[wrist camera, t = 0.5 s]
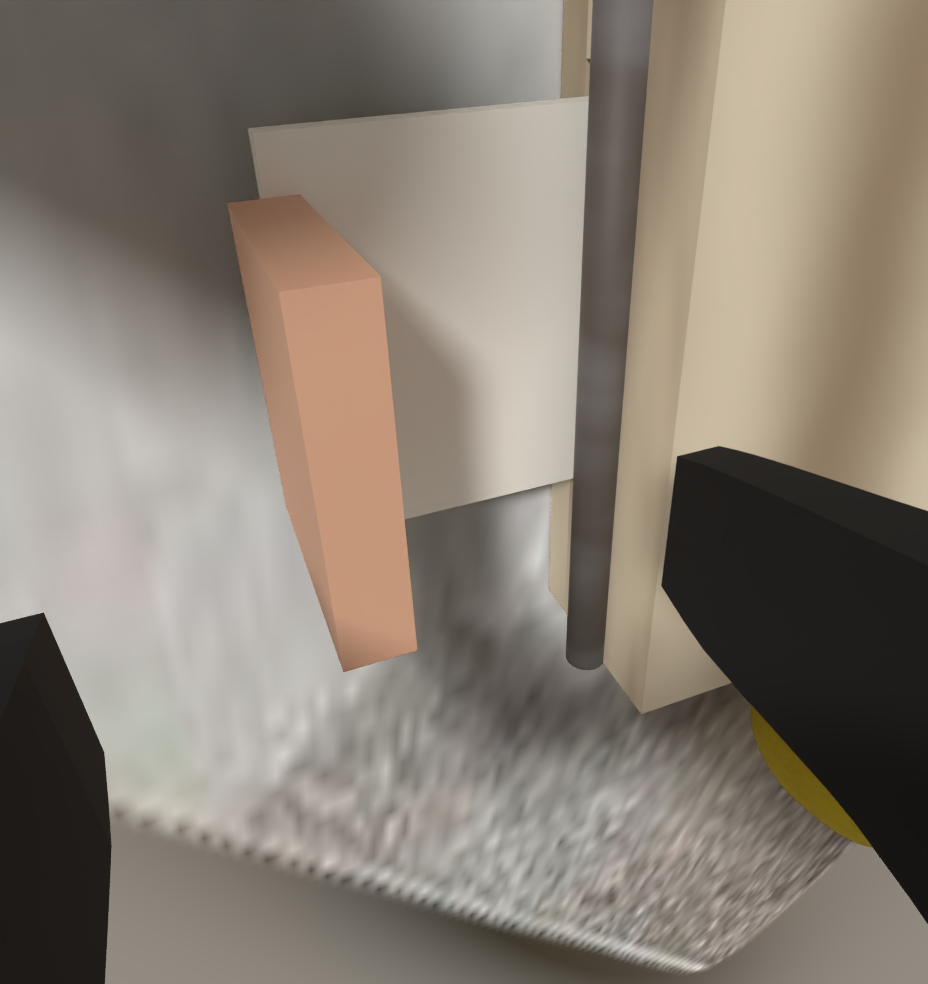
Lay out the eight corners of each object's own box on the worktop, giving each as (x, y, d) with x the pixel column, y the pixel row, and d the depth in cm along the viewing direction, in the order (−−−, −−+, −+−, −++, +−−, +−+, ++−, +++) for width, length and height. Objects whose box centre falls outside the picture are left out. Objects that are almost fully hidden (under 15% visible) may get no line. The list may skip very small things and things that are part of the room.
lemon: (804, 696, 31) (983, 876, 25) (687, 723, 29) (850, 926, 23) (854, 582, 28) (1069, 750, 22) (729, 603, 26) (926, 795, 20)
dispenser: (976, -230, 16) (1270, -309, 12) (802, 518, 25) (930, 614, 21) (525, -248, 13) (708, -359, 9) (523, 597, 23) (612, 724, 19)
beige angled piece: (921, 64, 17) (1208, 87, 13) (840, 399, 21) (1033, 504, 17) (210, 131, 13) (262, 199, 8) (288, 531, 17) (351, 716, 13)
